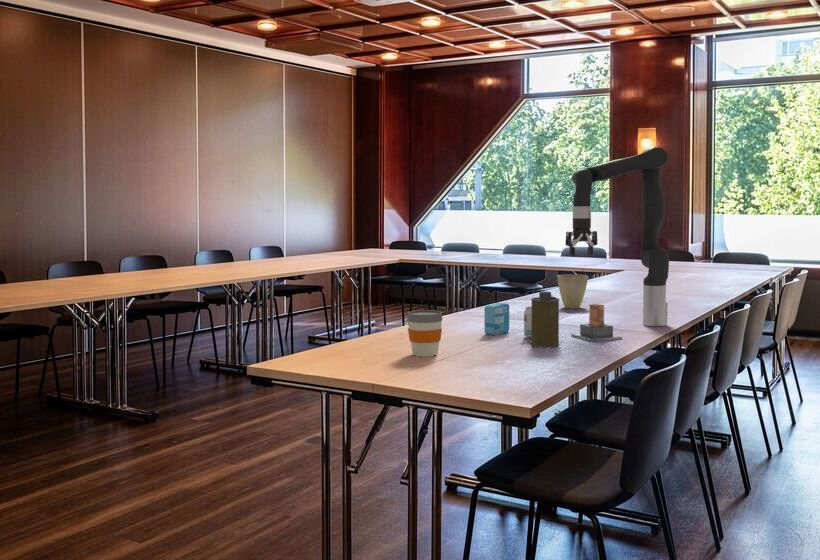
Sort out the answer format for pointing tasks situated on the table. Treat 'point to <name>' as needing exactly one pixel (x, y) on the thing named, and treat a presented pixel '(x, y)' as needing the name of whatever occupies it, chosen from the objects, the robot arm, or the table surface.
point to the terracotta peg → (596, 315)
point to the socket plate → (596, 333)
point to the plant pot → (572, 289)
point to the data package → (496, 318)
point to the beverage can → (528, 322)
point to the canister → (545, 320)
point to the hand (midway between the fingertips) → (581, 255)
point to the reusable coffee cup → (424, 331)
